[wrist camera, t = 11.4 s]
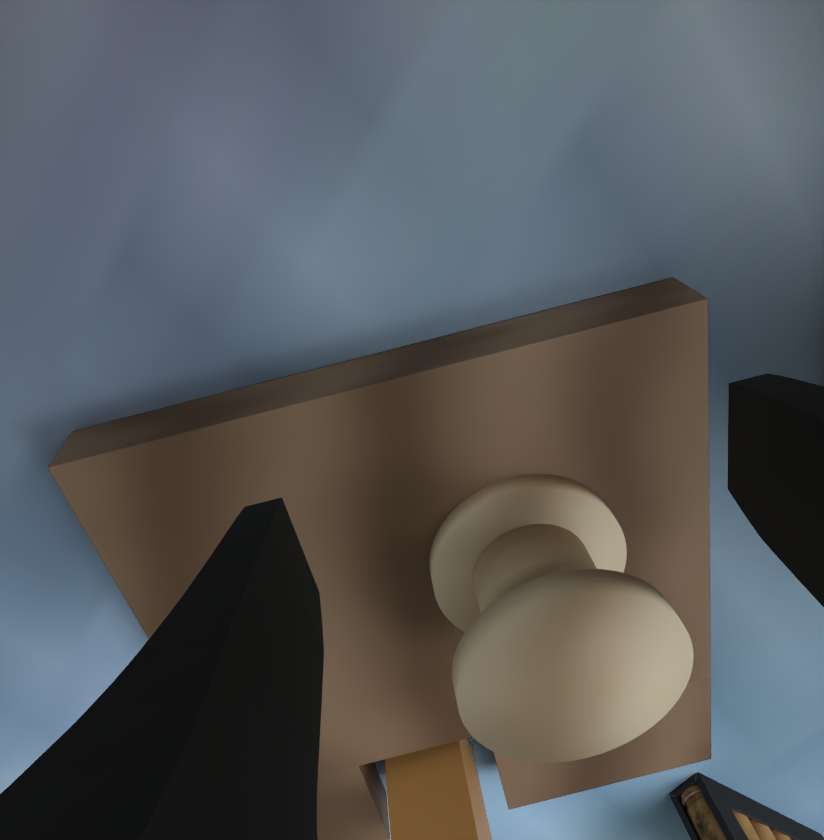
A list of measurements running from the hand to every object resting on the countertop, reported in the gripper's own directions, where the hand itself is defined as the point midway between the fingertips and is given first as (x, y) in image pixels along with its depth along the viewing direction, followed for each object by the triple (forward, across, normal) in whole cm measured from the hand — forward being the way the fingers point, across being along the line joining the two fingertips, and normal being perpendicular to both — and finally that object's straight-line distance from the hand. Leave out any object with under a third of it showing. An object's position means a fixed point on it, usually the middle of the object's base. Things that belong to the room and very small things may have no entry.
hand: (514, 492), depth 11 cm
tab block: (+9, +4, +18) cm, 21 cm away
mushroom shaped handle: (+7, -1, +8) cm, 11 cm away
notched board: (+9, +2, +11) cm, 15 cm away
